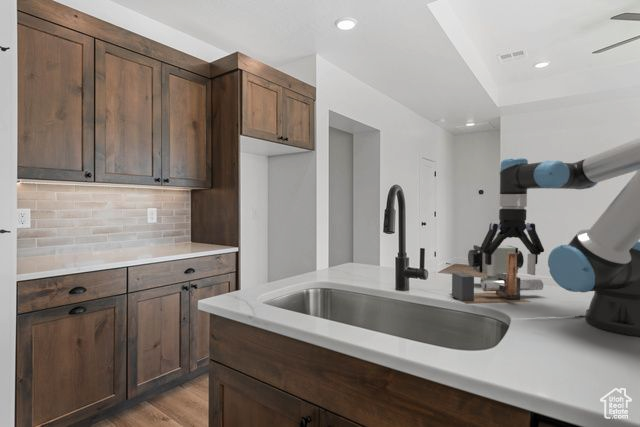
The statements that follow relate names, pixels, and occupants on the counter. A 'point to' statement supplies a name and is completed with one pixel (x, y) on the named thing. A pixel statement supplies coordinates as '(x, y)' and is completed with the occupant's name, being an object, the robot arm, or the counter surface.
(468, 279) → the dark grey block
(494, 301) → the board
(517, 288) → the clamp
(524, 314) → the counter surface
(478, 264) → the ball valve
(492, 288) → the slip tube
